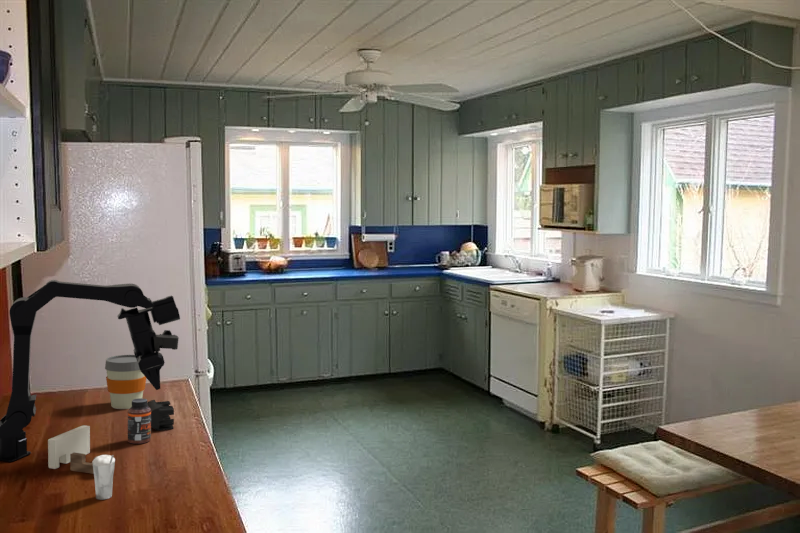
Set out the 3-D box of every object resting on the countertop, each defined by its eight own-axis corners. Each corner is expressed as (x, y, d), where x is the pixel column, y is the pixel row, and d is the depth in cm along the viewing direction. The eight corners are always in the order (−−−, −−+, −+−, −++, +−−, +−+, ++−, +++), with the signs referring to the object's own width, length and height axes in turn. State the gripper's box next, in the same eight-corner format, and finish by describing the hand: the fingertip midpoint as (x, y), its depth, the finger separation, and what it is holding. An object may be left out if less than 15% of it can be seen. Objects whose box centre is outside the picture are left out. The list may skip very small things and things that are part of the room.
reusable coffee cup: (120, 398, 232) (120, 353, 231) (155, 401, 230) (155, 356, 228) (96, 408, 220) (96, 361, 219) (133, 412, 217) (133, 364, 216)
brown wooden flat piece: (70, 470, 169) (70, 454, 169) (74, 468, 170) (73, 452, 170) (106, 475, 166) (105, 459, 166) (109, 473, 167) (109, 457, 167)
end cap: (143, 423, 207) (143, 400, 207) (168, 420, 210) (168, 398, 210) (147, 433, 198) (147, 409, 198) (174, 430, 202) (174, 406, 201)
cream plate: (55, 468, 170) (55, 440, 169) (48, 467, 170) (48, 439, 170) (89, 452, 181) (89, 426, 181) (83, 451, 182) (83, 425, 181)
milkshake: (103, 503, 151) (103, 458, 150) (88, 497, 154) (87, 453, 153) (122, 496, 155) (121, 452, 154) (106, 491, 157) (106, 447, 157)
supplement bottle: (143, 445, 188) (143, 403, 187) (123, 443, 189) (122, 402, 188) (155, 438, 193) (155, 398, 192) (135, 436, 195) (135, 396, 194)
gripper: (176, 327, 182) (191, 383, 184) (168, 316, 199) (182, 368, 201) (131, 340, 177) (147, 397, 180) (126, 327, 194) (142, 380, 197)
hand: (156, 385), depth 190 cm, fingers open, 9 cm apart
